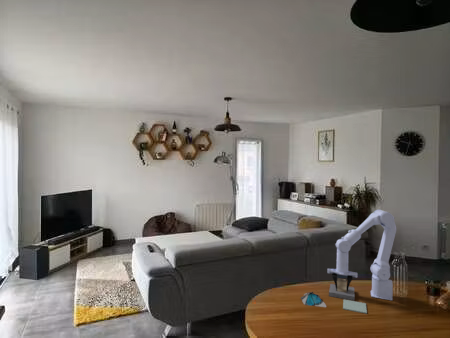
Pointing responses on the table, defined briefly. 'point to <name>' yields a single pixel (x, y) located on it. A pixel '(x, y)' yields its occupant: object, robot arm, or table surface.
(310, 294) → the decorative butterfly
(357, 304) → the rubber mat
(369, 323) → the table surface
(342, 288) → the maple block
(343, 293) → the pocket holder
